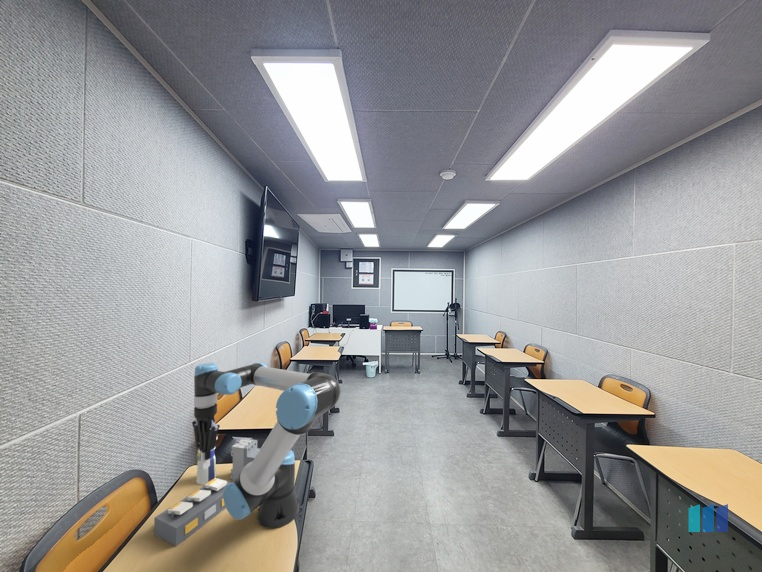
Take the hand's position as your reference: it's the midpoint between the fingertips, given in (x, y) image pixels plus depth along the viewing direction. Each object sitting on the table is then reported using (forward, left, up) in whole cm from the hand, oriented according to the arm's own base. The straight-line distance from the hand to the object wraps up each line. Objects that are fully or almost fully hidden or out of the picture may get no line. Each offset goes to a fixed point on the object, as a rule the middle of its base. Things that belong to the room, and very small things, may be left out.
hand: (205, 467), depth 111 cm
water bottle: (+20, -15, -19) cm, 31 cm away
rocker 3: (+2, -6, -11) cm, 12 cm away
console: (+2, +1, -18) cm, 18 cm away
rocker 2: (+2, +1, -11) cm, 11 cm away
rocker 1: (+2, +8, -11) cm, 13 cm away
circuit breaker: (+3, -24, -19) cm, 31 cm away
